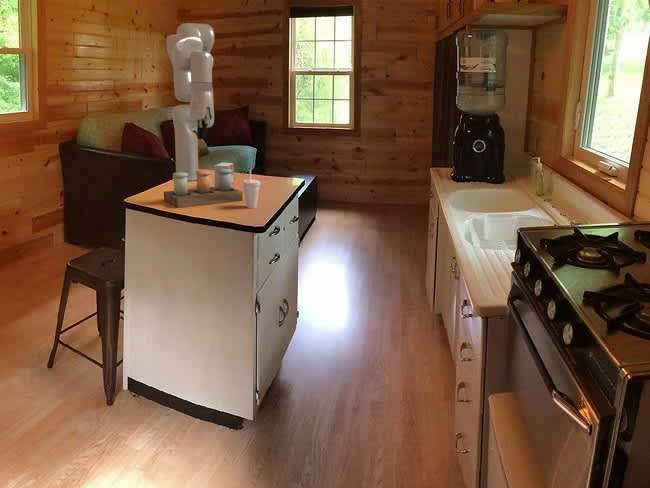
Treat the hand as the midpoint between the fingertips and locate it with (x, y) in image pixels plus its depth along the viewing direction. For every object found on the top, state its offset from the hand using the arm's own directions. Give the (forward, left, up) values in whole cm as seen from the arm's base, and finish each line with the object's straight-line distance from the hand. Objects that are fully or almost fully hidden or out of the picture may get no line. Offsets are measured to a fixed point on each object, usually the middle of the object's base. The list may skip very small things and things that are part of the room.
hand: (202, 138), depth 229 cm
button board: (0, 0, -23) cm, 23 cm away
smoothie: (+17, +11, -24) cm, 31 cm away
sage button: (0, -9, -20) cm, 22 cm away
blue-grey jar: (0, +9, -20) cm, 22 cm away
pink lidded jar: (0, 0, -20) cm, 20 cm away
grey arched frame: (-14, +16, -24) cm, 32 cm away
